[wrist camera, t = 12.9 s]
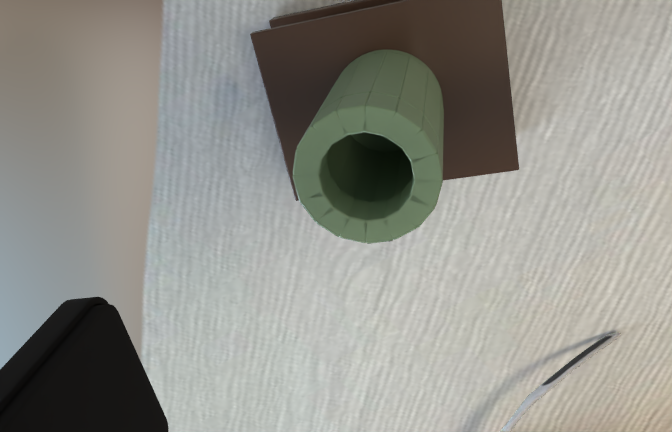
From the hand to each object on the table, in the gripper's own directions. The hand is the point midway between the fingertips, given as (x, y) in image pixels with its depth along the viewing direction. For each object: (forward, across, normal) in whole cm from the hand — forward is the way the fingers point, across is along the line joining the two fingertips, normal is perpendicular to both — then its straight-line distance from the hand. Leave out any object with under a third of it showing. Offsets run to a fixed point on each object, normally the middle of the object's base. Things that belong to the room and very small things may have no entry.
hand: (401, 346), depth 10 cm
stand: (+23, +2, +2) cm, 23 cm away
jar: (+18, +2, +2) cm, 19 cm away
